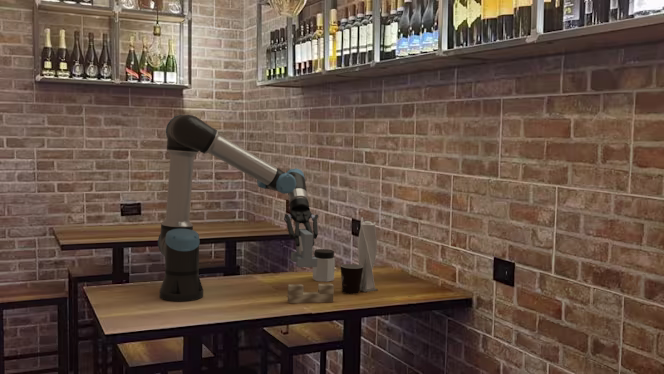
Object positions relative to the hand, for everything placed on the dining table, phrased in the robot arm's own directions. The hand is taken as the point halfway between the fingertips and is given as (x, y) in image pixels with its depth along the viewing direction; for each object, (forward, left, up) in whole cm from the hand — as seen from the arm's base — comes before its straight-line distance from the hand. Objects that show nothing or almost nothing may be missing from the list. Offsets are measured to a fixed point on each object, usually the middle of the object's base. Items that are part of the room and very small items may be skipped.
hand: (306, 252), depth 236 cm
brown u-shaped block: (+8, -4, -16) cm, 18 cm away
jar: (-17, +22, -16) cm, 32 cm away
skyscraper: (+4, +26, -16) cm, 31 cm away
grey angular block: (-3, +2, -5) cm, 6 cm away
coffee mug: (+4, +19, -16) cm, 25 cm away
